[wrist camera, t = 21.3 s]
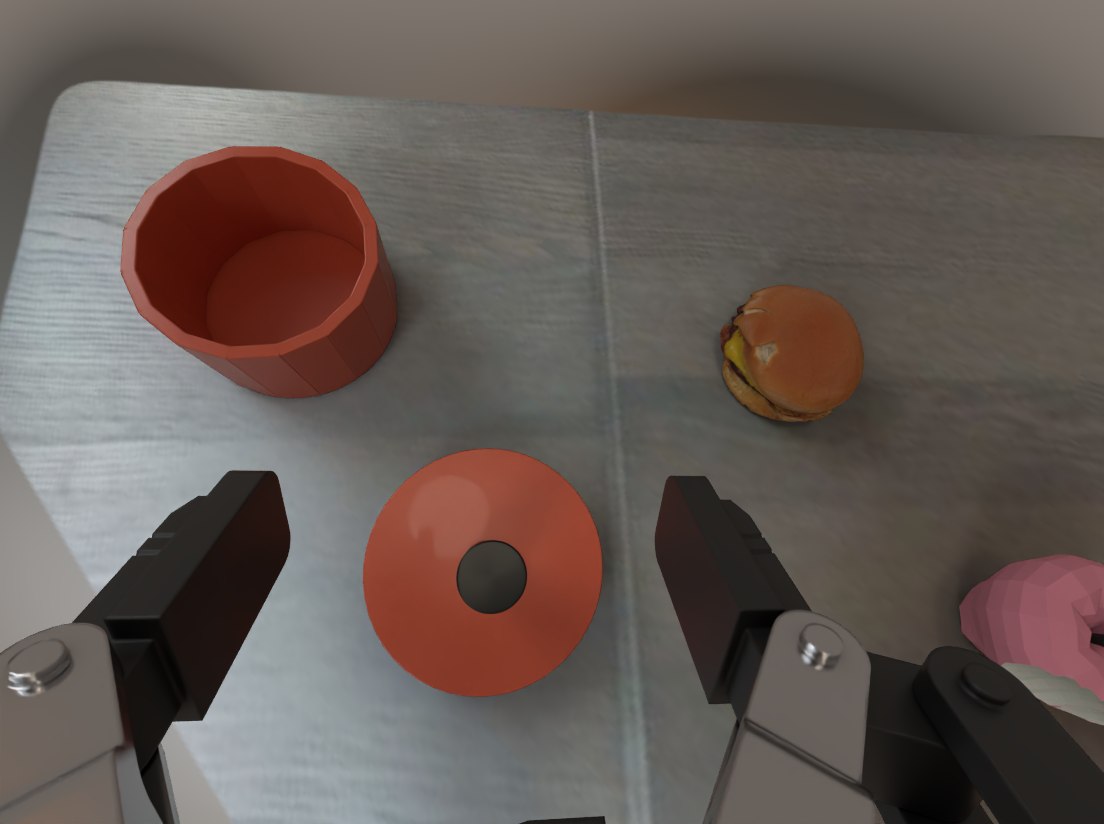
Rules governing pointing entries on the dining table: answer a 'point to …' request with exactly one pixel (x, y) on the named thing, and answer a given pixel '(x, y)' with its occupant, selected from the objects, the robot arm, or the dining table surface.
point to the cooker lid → (482, 572)
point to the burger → (792, 354)
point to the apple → (1045, 629)
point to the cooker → (263, 270)
